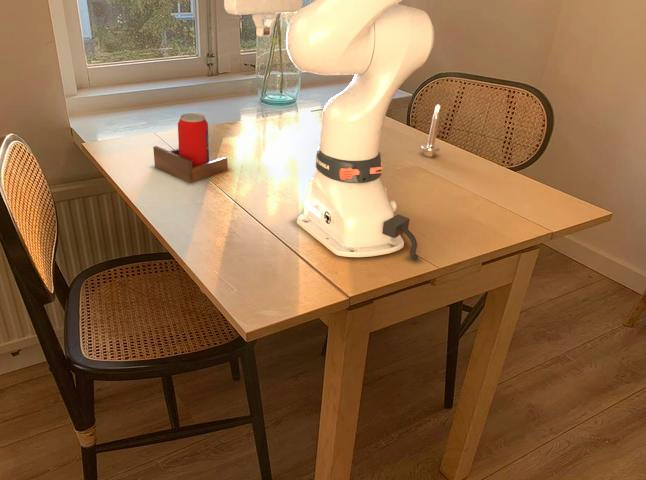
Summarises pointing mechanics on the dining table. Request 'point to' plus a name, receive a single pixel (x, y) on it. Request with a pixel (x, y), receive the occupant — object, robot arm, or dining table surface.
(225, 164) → the bay
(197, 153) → the beverage can
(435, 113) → the screw
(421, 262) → the dining table surface
